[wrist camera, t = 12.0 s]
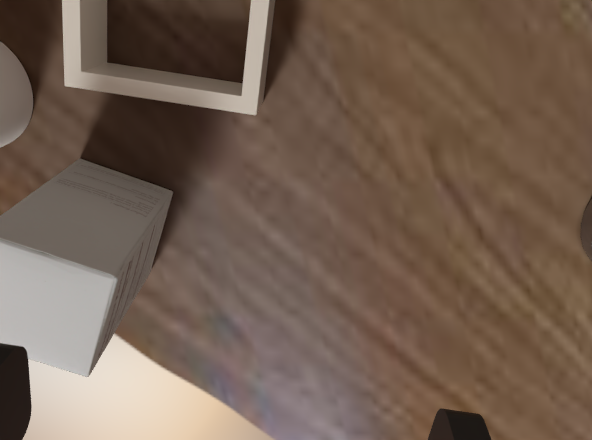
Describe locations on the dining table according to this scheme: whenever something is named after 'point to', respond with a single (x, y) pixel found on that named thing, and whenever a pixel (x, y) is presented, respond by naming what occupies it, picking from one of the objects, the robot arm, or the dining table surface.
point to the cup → (13, 97)
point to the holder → (153, 83)
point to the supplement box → (76, 262)
